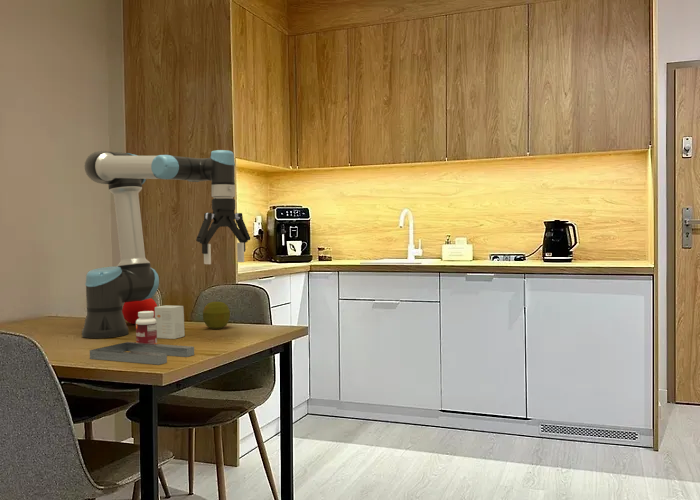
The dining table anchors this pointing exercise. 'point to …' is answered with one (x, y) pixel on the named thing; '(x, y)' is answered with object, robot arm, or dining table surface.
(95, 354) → the grey u-shaped frame
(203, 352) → the dining table surface
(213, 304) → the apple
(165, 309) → the small box
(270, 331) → the dining table surface
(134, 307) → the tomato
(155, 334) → the pill bottle
